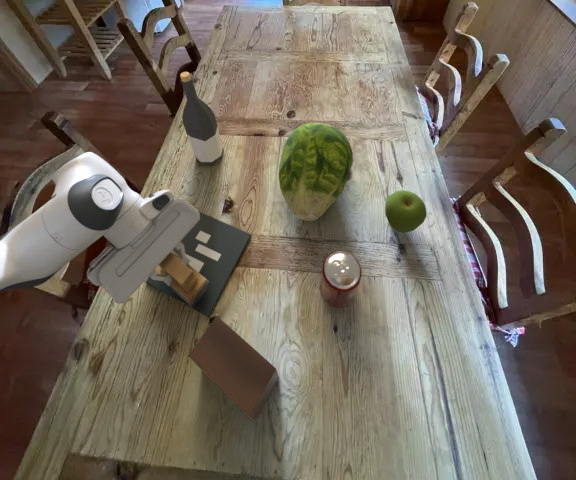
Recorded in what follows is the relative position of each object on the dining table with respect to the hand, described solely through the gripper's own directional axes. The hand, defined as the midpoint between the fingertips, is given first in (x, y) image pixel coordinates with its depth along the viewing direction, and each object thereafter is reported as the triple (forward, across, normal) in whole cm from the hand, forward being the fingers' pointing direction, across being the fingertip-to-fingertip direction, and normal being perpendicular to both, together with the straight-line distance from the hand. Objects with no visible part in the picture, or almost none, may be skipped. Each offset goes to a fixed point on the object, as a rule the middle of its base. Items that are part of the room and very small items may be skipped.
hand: (179, 272), depth 67 cm
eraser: (+3, 0, +4) cm, 5 cm away
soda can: (+24, +17, -13) cm, 33 cm away
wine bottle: (-9, +27, +20) cm, 35 cm away
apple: (+28, +38, -17) cm, 50 cm away
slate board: (+4, +6, +7) cm, 10 cm away
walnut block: (+19, -5, -8) cm, 21 cm away
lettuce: (+12, +35, -1) cm, 37 cm away
